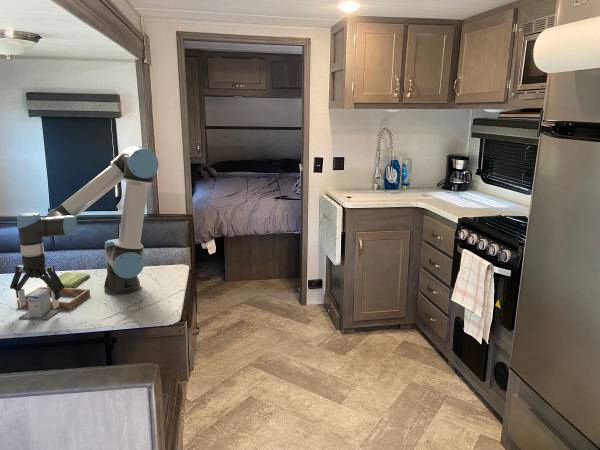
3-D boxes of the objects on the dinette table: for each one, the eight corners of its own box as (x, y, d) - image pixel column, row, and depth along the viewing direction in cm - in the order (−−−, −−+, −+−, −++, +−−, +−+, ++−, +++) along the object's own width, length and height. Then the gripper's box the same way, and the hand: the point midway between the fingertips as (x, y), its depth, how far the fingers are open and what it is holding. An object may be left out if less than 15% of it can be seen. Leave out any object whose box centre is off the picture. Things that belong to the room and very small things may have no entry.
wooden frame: (90, 295, 193) (89, 289, 192) (70, 309, 178) (70, 302, 178) (41, 293, 194) (40, 287, 194) (17, 307, 180) (17, 300, 179)
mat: (60, 310, 178) (60, 309, 178) (47, 320, 169) (46, 318, 169) (34, 309, 178) (34, 307, 178) (19, 319, 170) (19, 317, 169)
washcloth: (92, 277, 217) (91, 270, 216) (73, 290, 199) (73, 283, 199) (65, 276, 217) (64, 270, 216) (44, 289, 199) (43, 283, 199)
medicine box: (40, 309, 177) (37, 288, 175) (51, 309, 177) (49, 288, 176) (29, 317, 170) (26, 296, 168) (41, 317, 170) (38, 296, 168)
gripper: (70, 252, 171) (75, 303, 176) (8, 249, 172) (15, 301, 177) (59, 258, 164) (64, 311, 168) (-6, 255, 165) (1, 308, 170)
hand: (39, 306), depth 173 cm, fingers open, 13 cm apart
